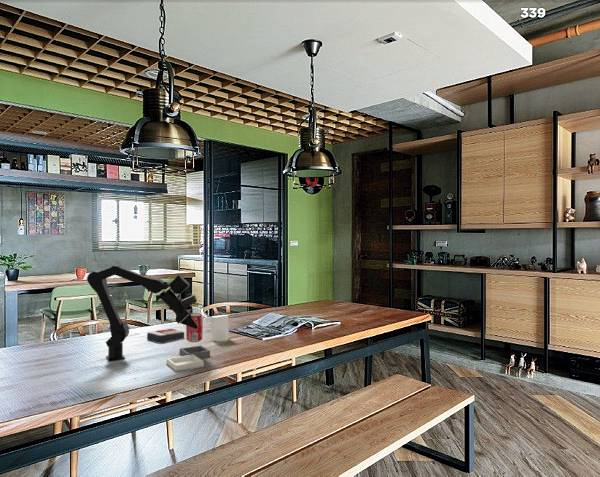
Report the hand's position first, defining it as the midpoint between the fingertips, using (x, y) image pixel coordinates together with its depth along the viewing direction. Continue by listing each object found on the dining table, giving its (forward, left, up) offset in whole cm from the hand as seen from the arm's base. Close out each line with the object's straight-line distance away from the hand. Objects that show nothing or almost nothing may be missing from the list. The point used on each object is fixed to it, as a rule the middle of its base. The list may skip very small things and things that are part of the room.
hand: (197, 326), depth 194 cm
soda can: (-1, -1, -7) cm, 7 cm away
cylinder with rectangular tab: (-22, +21, -13) cm, 33 cm away
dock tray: (+10, -10, -13) cm, 19 cm away
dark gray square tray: (-2, -1, -13) cm, 13 cm away
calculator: (-38, -2, -14) cm, 41 cm away
